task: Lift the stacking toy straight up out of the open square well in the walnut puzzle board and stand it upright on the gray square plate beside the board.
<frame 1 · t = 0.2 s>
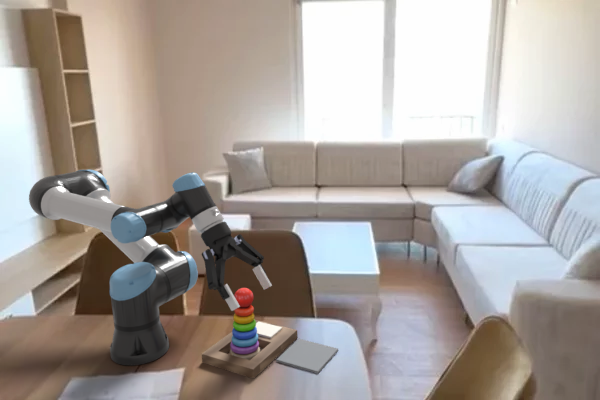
hand: (252, 298, 129), 16 cm above the table, tool tilted 35°, fingers open, 13 cm apart
walnut puzzle board: (251, 349, 134), on the table
gray square plate: (307, 356, 130), on the table
stacking toy: (245, 355, 131), resting in walnut puzzle board
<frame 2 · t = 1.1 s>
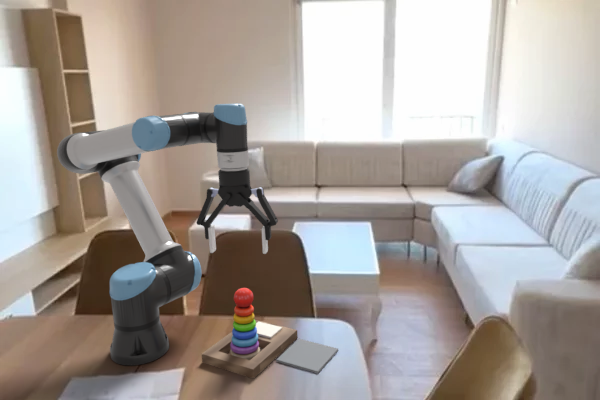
hand: (239, 251, 125), 29 cm above the table, tool pointing down, fingers open, 13 cm apart
nothing on the table moved.
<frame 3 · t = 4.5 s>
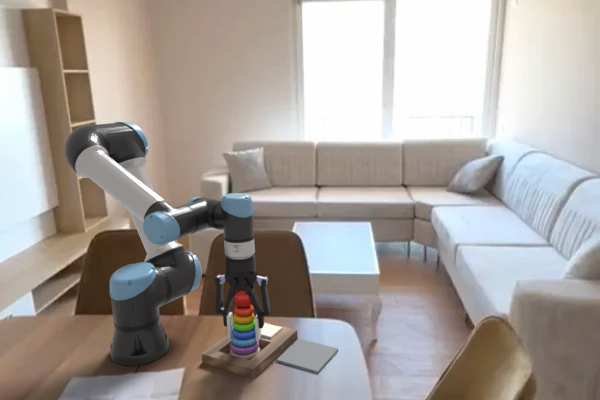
hand: (244, 337, 130), 5 cm above the table, tool pointing down, fingers closed on stacking toy, 7 cm apart
stacking toy: (245, 355, 131), resting in walnut puzzle board, touching gripper
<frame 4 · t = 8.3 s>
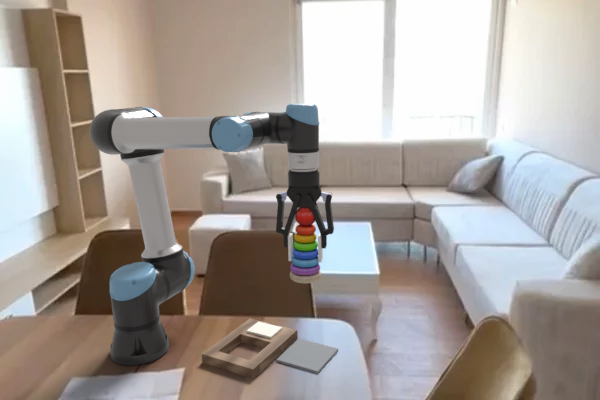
hand: (305, 259, 124), 27 cm above the table, tool pointing down, fingers closed on stacking toy, 7 cm apart
stacking toy: (305, 279, 125), point 21 cm above the table, touching gripper
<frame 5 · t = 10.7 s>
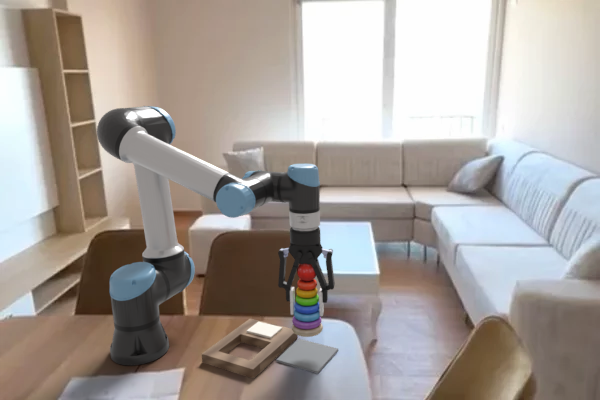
hand: (307, 312, 127), 12 cm above the table, tool pointing down, fingers closed on stacking toy, 7 cm apart
stacking toy: (307, 331, 128), point 7 cm above the table, touching gripper
when the fingers open (7 cm above the table, at t = 12.6 s): stacking toy drops 2 cm, resting on gray square plate.
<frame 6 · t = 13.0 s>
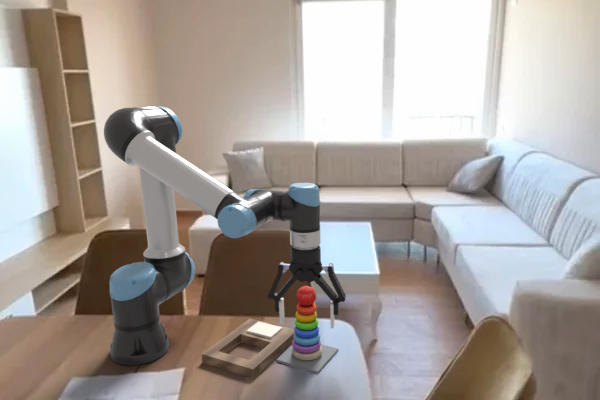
hand: (307, 324, 128), 9 cm above the table, tool pointing down, fingers open, 12 cm apart
stacking toy: (307, 354, 130), resting on gray square plate
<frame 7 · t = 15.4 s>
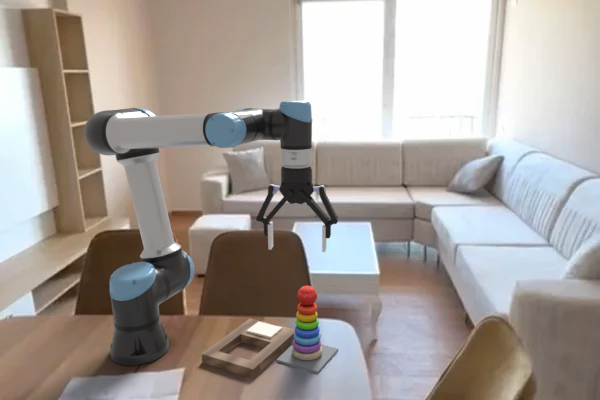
hand: (297, 249, 124), 29 cm above the table, tool pointing down, fingers open, 13 cm apart
nothing on the table moved.
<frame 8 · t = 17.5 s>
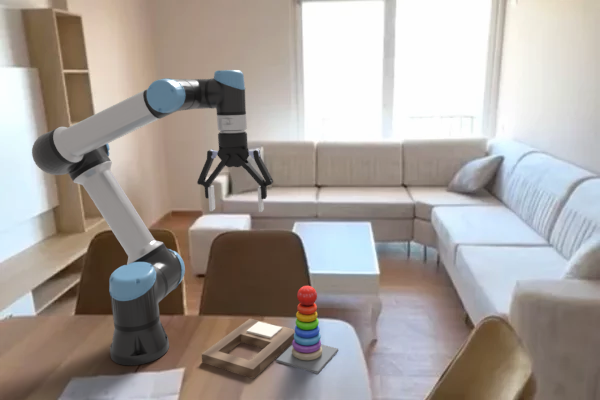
hand: (236, 210, 134), 37 cm above the table, tool pointing down, fingers open, 13 cm apart
nothing on the table moved.
at the end: stacking toy inside the target area (0.1 cm from its centre), resting on gray square plate; stacking toy tilted 0°; the gripper is holding nothing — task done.
